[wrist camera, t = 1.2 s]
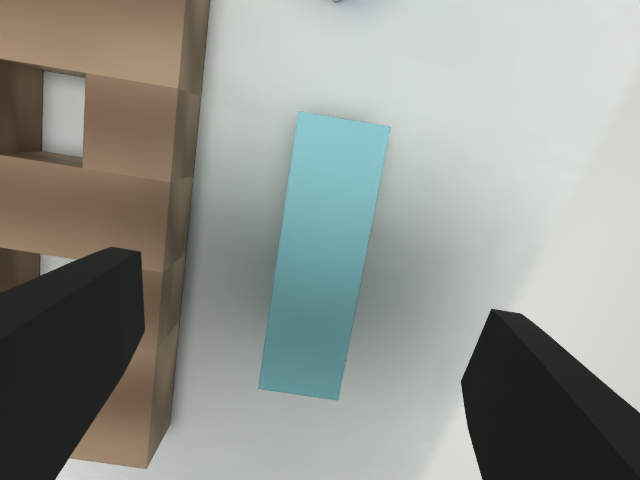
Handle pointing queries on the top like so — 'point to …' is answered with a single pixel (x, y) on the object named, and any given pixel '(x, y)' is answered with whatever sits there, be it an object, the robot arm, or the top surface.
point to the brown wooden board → (107, 175)
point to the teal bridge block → (321, 253)
